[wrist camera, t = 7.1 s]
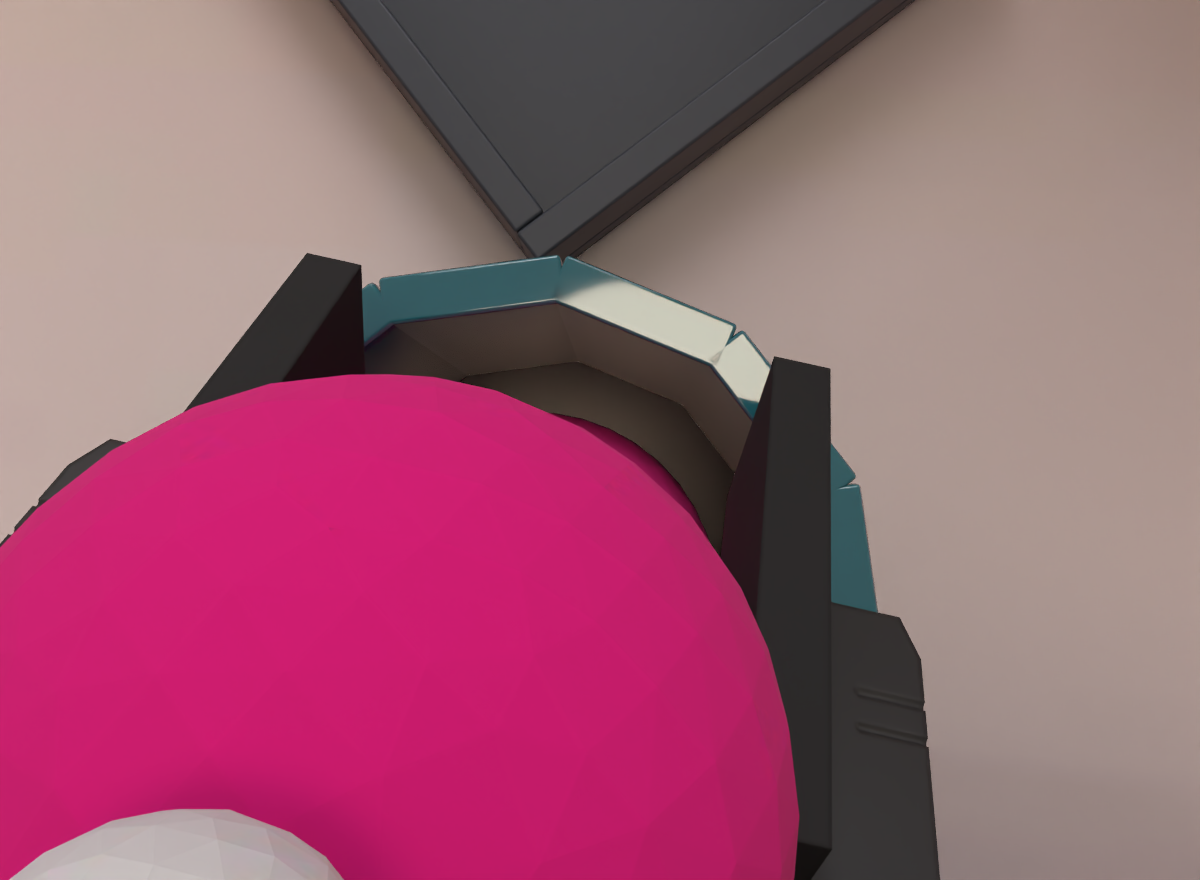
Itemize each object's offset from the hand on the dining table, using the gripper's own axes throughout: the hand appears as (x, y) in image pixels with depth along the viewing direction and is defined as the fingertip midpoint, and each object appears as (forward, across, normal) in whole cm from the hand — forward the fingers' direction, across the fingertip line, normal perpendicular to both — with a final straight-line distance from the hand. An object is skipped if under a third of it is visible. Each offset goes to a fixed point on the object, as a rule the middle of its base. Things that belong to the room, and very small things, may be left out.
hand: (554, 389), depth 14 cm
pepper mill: (+4, 0, -9) cm, 10 cm away
